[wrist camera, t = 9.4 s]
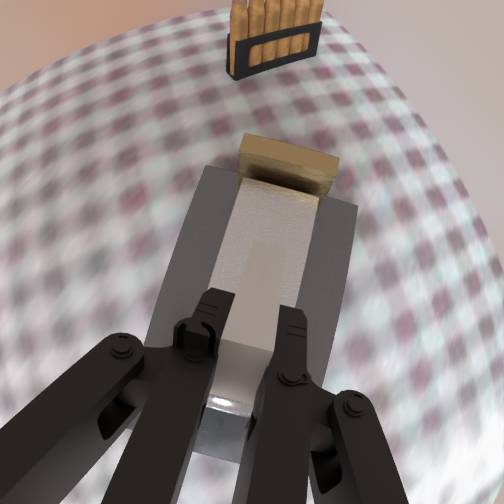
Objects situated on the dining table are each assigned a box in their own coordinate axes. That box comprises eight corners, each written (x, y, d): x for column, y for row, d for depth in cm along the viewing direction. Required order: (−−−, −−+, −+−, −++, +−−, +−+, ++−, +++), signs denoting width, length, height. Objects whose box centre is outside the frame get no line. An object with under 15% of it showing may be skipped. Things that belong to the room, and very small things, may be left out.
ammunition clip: (234, 81, 28) (235, -21, 17) (225, 72, 29) (223, -27, 17) (316, 55, 31) (336, -30, 19) (306, 47, 31) (323, -37, 20)
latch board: (291, 466, 19) (309, 505, 12) (129, 421, 19) (92, 444, 13) (351, 213, 24) (383, 172, 18) (207, 175, 25) (199, 123, 19)
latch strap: (273, 426, 15) (328, 196, 19) (165, 396, 15) (235, 172, 20) (269, 419, 17) (320, 210, 21) (173, 392, 17) (236, 187, 22)
